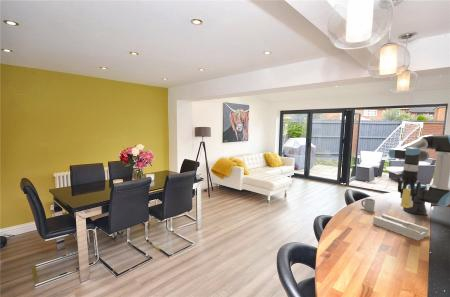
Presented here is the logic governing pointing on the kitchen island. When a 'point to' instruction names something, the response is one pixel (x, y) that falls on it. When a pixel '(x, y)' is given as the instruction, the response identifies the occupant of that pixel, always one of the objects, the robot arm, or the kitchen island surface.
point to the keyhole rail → (401, 227)
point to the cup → (368, 204)
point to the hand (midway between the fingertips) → (406, 204)
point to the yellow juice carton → (406, 198)
